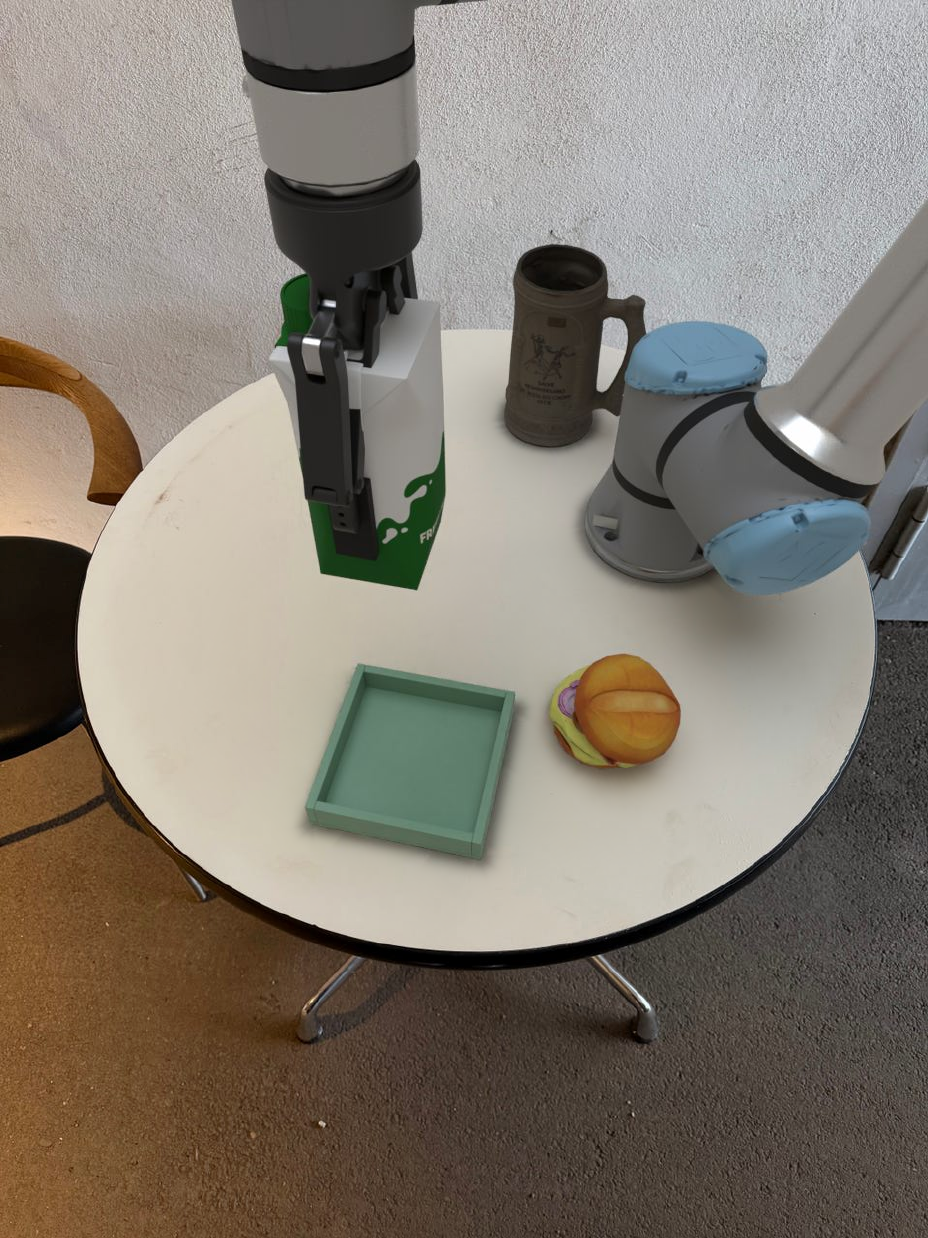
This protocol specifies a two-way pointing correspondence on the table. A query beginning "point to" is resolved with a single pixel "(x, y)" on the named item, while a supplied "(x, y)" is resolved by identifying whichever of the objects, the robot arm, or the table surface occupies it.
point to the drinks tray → (414, 760)
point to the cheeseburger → (615, 713)
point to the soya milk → (385, 437)
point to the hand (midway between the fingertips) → (379, 503)
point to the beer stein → (563, 344)
